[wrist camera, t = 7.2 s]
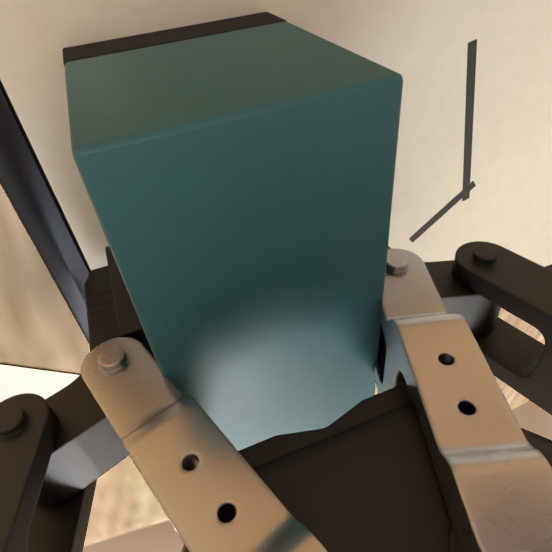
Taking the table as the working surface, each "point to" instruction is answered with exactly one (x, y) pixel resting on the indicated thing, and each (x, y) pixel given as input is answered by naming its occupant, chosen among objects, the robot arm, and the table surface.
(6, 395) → the picture card
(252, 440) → the eraser
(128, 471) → the table surface
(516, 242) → the whiteboard
